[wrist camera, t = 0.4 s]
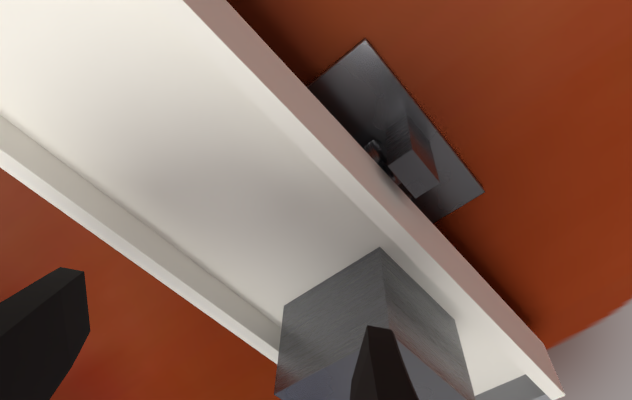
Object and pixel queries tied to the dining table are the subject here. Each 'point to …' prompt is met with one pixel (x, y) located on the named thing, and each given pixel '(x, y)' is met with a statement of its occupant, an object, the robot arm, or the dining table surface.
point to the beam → (225, 173)
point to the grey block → (349, 328)
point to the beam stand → (395, 132)
